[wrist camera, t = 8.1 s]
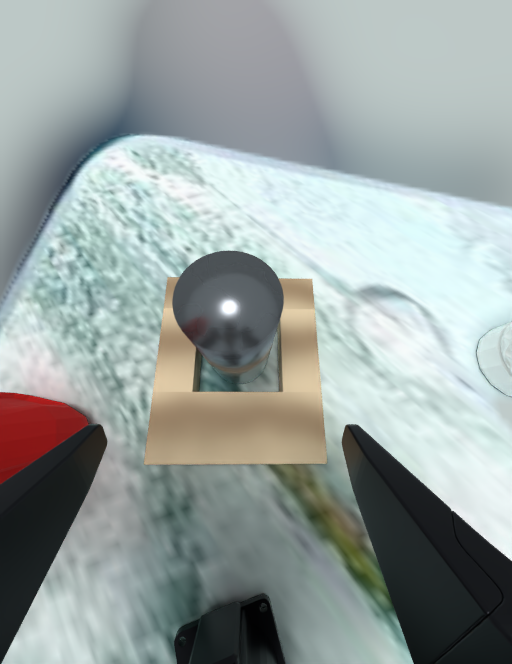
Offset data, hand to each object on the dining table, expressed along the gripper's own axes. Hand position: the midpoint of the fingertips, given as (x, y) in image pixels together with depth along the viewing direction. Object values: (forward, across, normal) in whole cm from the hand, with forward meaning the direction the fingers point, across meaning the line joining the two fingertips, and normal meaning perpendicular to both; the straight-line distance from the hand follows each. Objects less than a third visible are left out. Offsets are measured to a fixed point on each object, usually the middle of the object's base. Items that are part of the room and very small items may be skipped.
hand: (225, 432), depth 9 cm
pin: (+13, 0, +4) cm, 13 cm away
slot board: (+13, 0, +4) cm, 13 cm away
